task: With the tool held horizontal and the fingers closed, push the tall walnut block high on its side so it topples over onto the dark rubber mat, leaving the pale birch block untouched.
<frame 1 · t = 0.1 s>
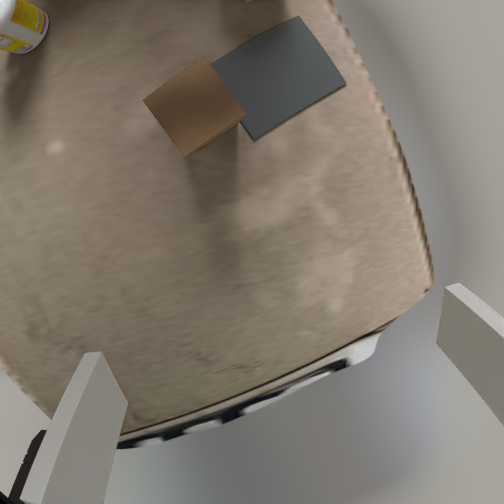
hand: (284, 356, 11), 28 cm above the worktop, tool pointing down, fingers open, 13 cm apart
supplement bottle: (30, 32, 27), on the worktop
mat: (276, 73, 32), on the worktop
walnut block: (206, 118, 34), on the worktop
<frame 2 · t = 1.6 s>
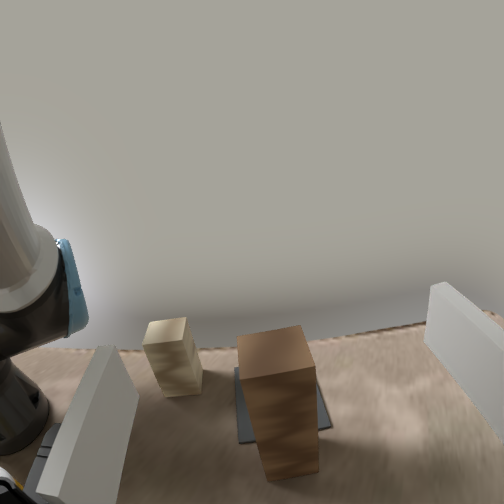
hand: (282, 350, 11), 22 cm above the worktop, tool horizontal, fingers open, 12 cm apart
birch block: (184, 383, 41), on the worktop
mat: (277, 396, 37), on the worktop
walnut block: (289, 458, 28), on the worktop
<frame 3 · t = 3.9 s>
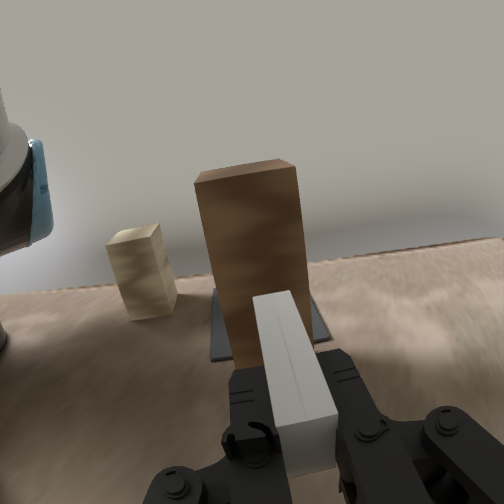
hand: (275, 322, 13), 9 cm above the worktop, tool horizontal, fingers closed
birch block: (154, 306, 36), on the worktop
mat: (262, 311, 32), on the worktop
walnut block: (276, 375, 23), on the worktop
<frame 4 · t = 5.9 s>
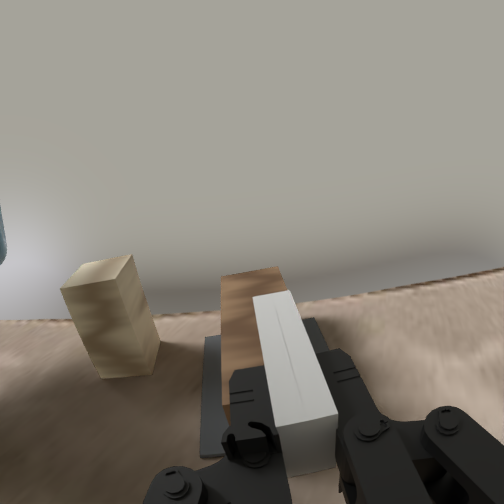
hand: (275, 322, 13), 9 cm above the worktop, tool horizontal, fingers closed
birch block: (131, 359, 27), on the worktop
mat: (269, 378, 23), on the worktop
walnut block: (279, 427, 15), point 3 cm above the worktop, tilted 90°, touching mat
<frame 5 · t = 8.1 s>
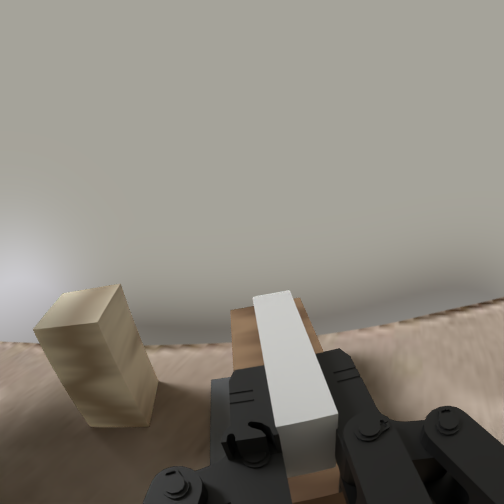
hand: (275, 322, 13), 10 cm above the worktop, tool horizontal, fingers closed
birch block: (124, 404, 22), on the worktop
mat: (291, 437, 17), on the worktop
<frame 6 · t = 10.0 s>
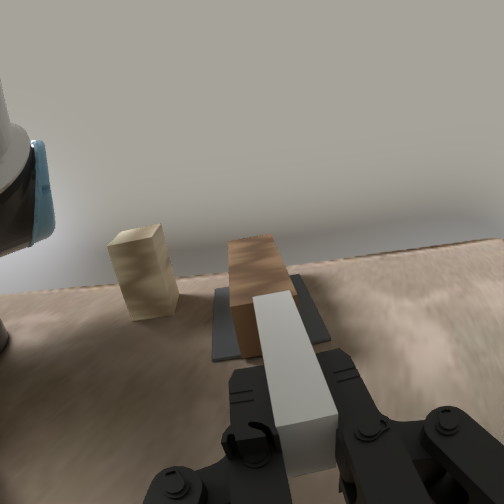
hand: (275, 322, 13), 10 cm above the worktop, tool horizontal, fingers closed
birch block: (156, 307, 37), on the worktop
mat: (263, 312, 32), on the worktop
walnut block: (268, 328, 25), point 3 cm above the worktop, tilted 90°, touching mat
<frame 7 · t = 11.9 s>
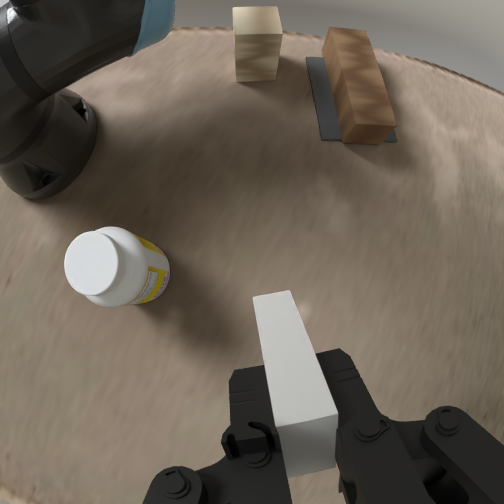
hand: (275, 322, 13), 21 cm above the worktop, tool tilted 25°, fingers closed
birch block: (254, 66, 37), on the worktop
supplement bottle: (142, 272, 34), on the worktop
mat: (350, 96, 37), on the worktop
walnut block: (369, 134, 34), point 3 cm above the worktop, tilted 90°, touching mat
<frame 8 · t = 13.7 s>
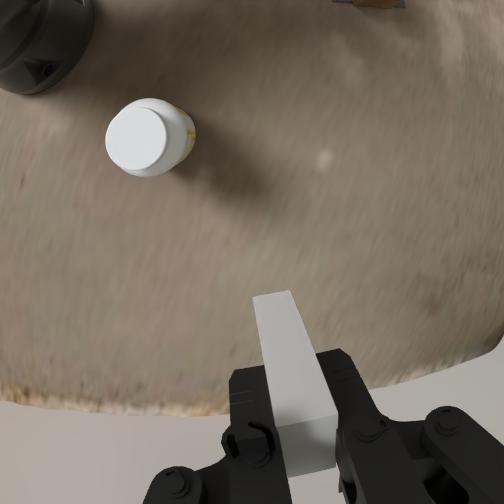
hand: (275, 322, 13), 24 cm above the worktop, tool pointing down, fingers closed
supplement bottle: (166, 136, 33), on the worktop
walnut block: (381, 0, 26), point 3 cm above the worktop, tilted 90°, touching mat
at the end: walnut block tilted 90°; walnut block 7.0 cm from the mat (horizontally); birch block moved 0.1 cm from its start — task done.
